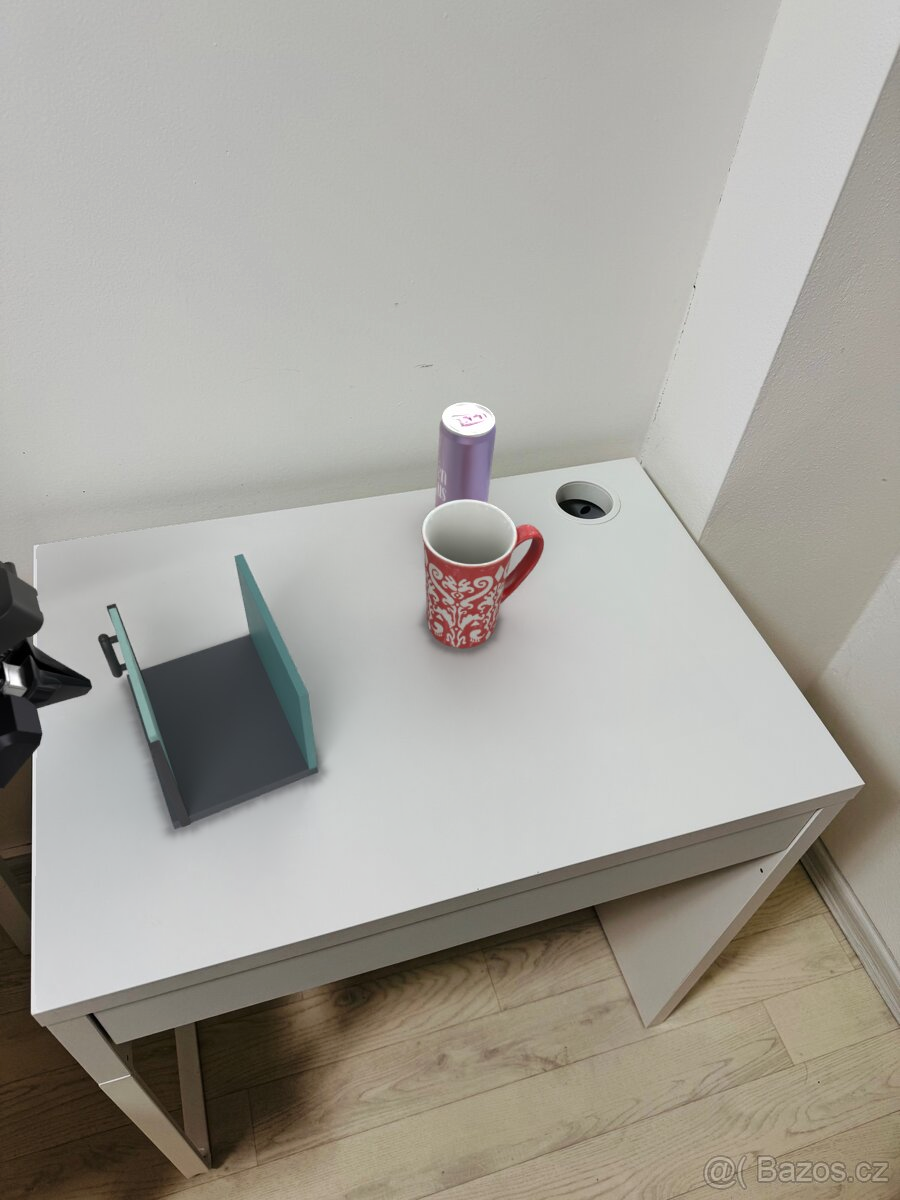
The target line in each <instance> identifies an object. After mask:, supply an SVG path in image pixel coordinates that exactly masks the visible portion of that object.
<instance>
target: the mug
mask: <svg viewBox="0 0 900 1200" xmlns="http://www.w3.org/2000/svg"><path fill="white" fill-rule="evenodd" d="M421 538H422V542H423V552H424V553H423V555H424V576H425V601H426V622H427V626H428V630H429V632H430V633H431V635H432V636H433V637H434V638H435V639H436V640H437V641H438V642H440V643H441V644H443V645H445V646H448V647H452V648H457V649H467V648H468V649H469V648H474V647H477V646H480V645H482V644H483V643H484V642H486V641H487V640H488V639H489V638H490V637H491V636H492V635H493V633H494V632H495V628H496V625H497V622H498V615H499V611H500V607H501V604H503V602H505V600H507V599H508V598H509V597H510V596H511V595H512V594H513V593H514V592H515V591H516V590H517V589H518V588H519V587H520V586H521V584H522V583H523V582H524V581H525V580H526V579H527V578H528V576H529V575H530V574H531V572H533V570H534V569H535V568H536V566H537V564H538V563H539V561H540V559H541V557H542V554H543V553H544V548H545V540H544V537H543V534H542V533H541V532H540V531H539V529H537V528H536V526H534V525H532V524H521V525H518V526H516V525H515V522H514V521H513V520H512V518H511V517H510V516H509V515H508V514H507V513H506V512H505V511H503V510H502V509H501V508H499V507H498V506H496V505H494V504H492V503H489V502H487V503H486V502H482V501H478V500H455V501H451V502H447V503H444V504H442V505H440V506H438V507H436V508H435V507H434V508H433V509H432V510H431V511H429V513H428V514H426V516H425V518H424V520H423V522H422V524H421ZM529 540H531V543H530V545H529V547H528V549H527V551H526V552H525V554H524V556H523V557H522V558H521V560H520V561H519V562H518V563H517V564H516V566H515V567H514V568H513V569H512V570H511V571H510V572H509V568H510V564H511V560H512V556H513V555H512V554H513V553H514V551H515V550H516V548H518V547H519V546H520V545H522V544H523V543H525V542H526V541H529ZM508 572H509V573H508Z"/></svg>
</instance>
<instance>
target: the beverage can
mask: <svg viewBox="0 0 900 1200" xmlns="http://www.w3.org/2000/svg"><path fill="white" fill-rule="evenodd" d="M496 433H497V427H496V418H495V415H494V414H493V412H492V411H491V410H490V409H489V408H487V407H486V406H484V405H482V404H478V403H475V402H458V403H455V404H452V405H450V406H448V407H446V408H445V409H444V411H443V412H442V414H441V420H440V421H439V429H438V446H437V447H438V448H437V464H436V465H437V468H436V482H435V483H436V484H435V485H436V486H435V503H434V509H435V508H436V507H438V506H440V505H442V504H444V503H447V502H451V501H455V500H478V501H482V502H486V503H489V493H490V485H491V476H492V467H493V460H494V452H495V451H494V450H495V441H496Z"/></svg>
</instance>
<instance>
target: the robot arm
mask: <svg viewBox="0 0 900 1200" xmlns="http://www.w3.org/2000/svg"><path fill="white" fill-rule="evenodd" d="M38 596H39V593H38V590H37V588H35V587H34V586H32V585H31V584H29V583H28V582H27V581H25V580H23V579H21V578H20V577H18V572H17V569H16V564H15V563H14V562H12V561H5V562H3V561H2V560H0V789H5V788H7V786H8V785H9V783H10V782H11V781H12V780H13V778H14V777H16V775H17V773H19V771H20V770H21V769H22V767H23V766H24V765H25V764H26V763H27V761H28V760H29V759H30V758H31V757H32V756H33V754H34V753H35V752H36V750H38V748H39V747H40V746H41V743H42V738H43V729H42V725H41V721H40V716H39V712H38V710H39V709H41V708H44V707H48V706H51V705H55V704H58V703H61V702H66V701H69V700H72V699H76V698H79V697H83V696H86V695H88V694H89V693H90V691H91V690H93V689H92V688H93V684H92V681H91V679H90V678H89V677H86V676H84V674H81V673H79V672H78V671H76V670H74V669H72V668H70V667H69V666H67V665H66V664H64V663H62V662H60V661H59V660H57V659H55V658H53V657H52V656H51V655H49V654H47V653H46V652H44V651H42V650H41V649H40V648H38V647H36V646H35V644H34V643H33V641H32V639H31V637H34V636H35V635H36V634H38V632H40V630H41V629H42V628H43V625H44V621H45V618H44V614H43V611H42V610H41V608H40V607H41V606H40V604H39V603H40V602H39V600H38Z"/></svg>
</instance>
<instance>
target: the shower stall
mask: <svg viewBox="0 0 900 1200" xmlns="http://www.w3.org/2000/svg"><path fill="white" fill-rule="evenodd" d="M234 562H235V568H236V571H237V578H238V583H239V587H240V592H241V597H242V602H243V607H244V612H245V618H246V623H247V626H248V627H247V628H248V632H249V634H247V635H243V636H240V637H238V638H234V639H231V640H228V641H225V642H222V643H219V644H216V645H213V646H210V647H208V648H204V649H201V650H198V651H195V652H192V653H189V654H185V655H182V656H180V657H176V658H174V659H171V660H168V661H165V662H162V663H159V664H156V665H152V666H149V667H145V668H143V669H140V670H141V672H142V675H143V678H144V681H145V683H144V684H145V688H146V691H147V694H148V697H149V700H150V703H151V706H152V709H153V712H154V715H155V718H156V721H157V725H158V728H159V731H160V734H161V737H162V740H163V743H164V746H165V749H166V752H167V755H168V759H169V762H170V765H171V768H172V771H173V774H174V776H173V774H172V771H171V768H170V766H169V763H168V761H167V758H166V755H165V753H164V750H163V748H162V745H161V742H160V740H157V741H154V742H150V740H149V737H148V734H147V731H146V728H145V725H144V722H143V718H142V715H141V712H140V709H139V706H138V702H137V699H136V696H135V693H134V690H133V686H132V683H131V680H130V677H129V674H126V677H127V678H126V679H127V682H128V685H129V689H130V692H131V694H132V698H133V701H134V704H135V708H136V711H137V715H138V717H139V720H140V724H141V728H142V730H143V733H144V737H145V740H146V743H147V747H148V750H149V753H150V756H151V759H152V763H153V766H154V770H155V772H156V775H157V778H158V782H159V785H160V788H161V791H162V795H163V799H164V801H165V805H166V808H167V811H168V815H169V816H170V817H169V818H170V820H171V824H172V825H173V826H172V827H173V828H174V830H177V829H179V828H185V827H187V826H189V825H191V824H192V823H194V822H197V821H199V820H202V819H205V818H207V817H209V816H212V815H214V814H217V813H219V812H222V811H225V810H227V809H229V808H232V807H235V806H237V805H240V804H243V803H244V802H247V801H250V800H253V799H255V798H256V797H260V796H262V795H265V794H268V793H270V792H272V791H275V790H278V789H280V788H283V787H286V786H288V785H289V784H293V783H295V782H298V781H300V780H302V779H305V778H307V777H310V776H313V775H315V774H318V773H319V769H318V768H319V767H318V762H317V759H318V758H317V753H316V744H315V735H314V728H313V721H312V713H311V712H312V711H311V704H310V697H309V692H308V690H307V687H306V685H305V683H304V681H303V679H302V676H301V674H300V673H299V670H298V669H297V666H296V664H295V662H294V660H293V658H292V655H291V654H290V651H289V650H288V647H287V645H286V643H285V641H284V639H283V636H282V634H281V631H280V630H279V628H278V625H277V623H276V621H275V620H274V617H273V615H272V613H271V611H270V609H269V607H268V604H267V603H266V600H265V598H264V596H263V594H262V592H261V590H260V588H259V585H258V583H257V581H256V579H255V577H254V575H253V572H252V571H251V568H250V566H249V564H248V562H247V560H246V557H245V556H244V554H243V553H240V554H237V555H234ZM174 777H175V779H174ZM175 780H176V781H175ZM176 783H177V784H176ZM177 786H178V787H177Z"/></svg>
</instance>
